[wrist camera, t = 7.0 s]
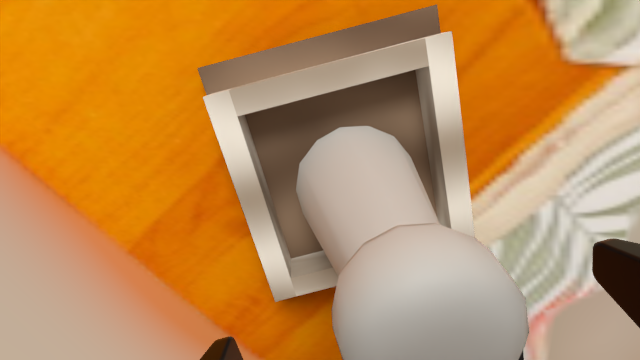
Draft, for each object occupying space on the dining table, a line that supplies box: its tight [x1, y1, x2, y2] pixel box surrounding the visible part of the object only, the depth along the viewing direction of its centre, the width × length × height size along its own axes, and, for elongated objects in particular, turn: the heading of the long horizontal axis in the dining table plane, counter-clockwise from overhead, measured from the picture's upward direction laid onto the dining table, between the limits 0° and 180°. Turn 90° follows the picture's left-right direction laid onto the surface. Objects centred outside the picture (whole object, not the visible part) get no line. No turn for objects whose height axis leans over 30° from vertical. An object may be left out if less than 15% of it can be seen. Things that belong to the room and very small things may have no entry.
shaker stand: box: [198, 5, 475, 302], centre depth 19 cm, size 14×12×3 cm
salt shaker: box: [296, 126, 529, 360], centre depth 13 cm, size 6×6×13 cm
